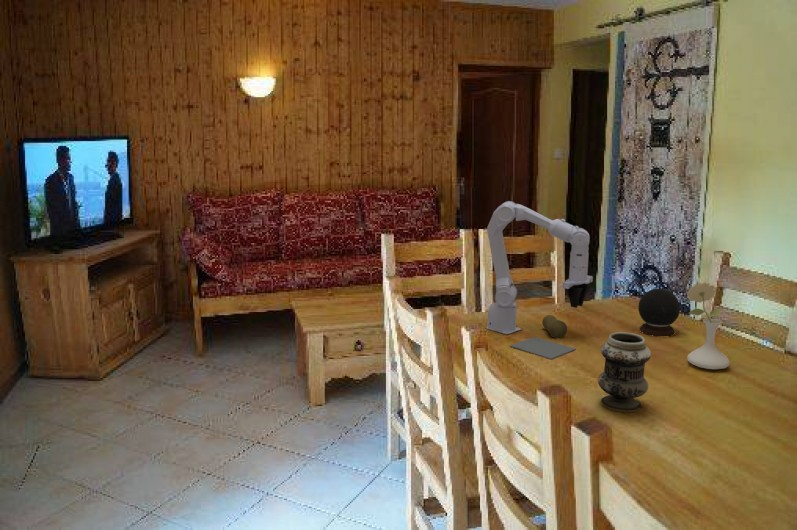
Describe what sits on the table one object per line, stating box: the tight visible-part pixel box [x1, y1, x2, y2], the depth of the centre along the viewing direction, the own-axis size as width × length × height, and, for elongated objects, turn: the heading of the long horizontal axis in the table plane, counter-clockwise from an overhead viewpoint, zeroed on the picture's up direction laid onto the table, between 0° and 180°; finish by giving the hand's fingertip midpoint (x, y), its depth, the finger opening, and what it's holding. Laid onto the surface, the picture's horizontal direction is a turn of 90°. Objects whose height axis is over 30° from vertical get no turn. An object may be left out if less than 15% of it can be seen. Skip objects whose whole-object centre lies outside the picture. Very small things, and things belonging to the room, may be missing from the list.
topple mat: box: [509, 336, 577, 360], centre depth 208 cm, size 16×13×1 cm
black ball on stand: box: [637, 288, 681, 337], centre depth 222 cm, size 13×13×15 cm
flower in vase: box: [686, 281, 731, 370], centre depth 190 cm, size 13×11×25 cm
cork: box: [541, 314, 568, 339], centre depth 222 cm, size 6×6×11 cm
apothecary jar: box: [597, 331, 652, 413], centre depth 164 cm, size 12×12×18 cm
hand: (576, 306), depth 217 cm, fingers open, 2 cm apart
